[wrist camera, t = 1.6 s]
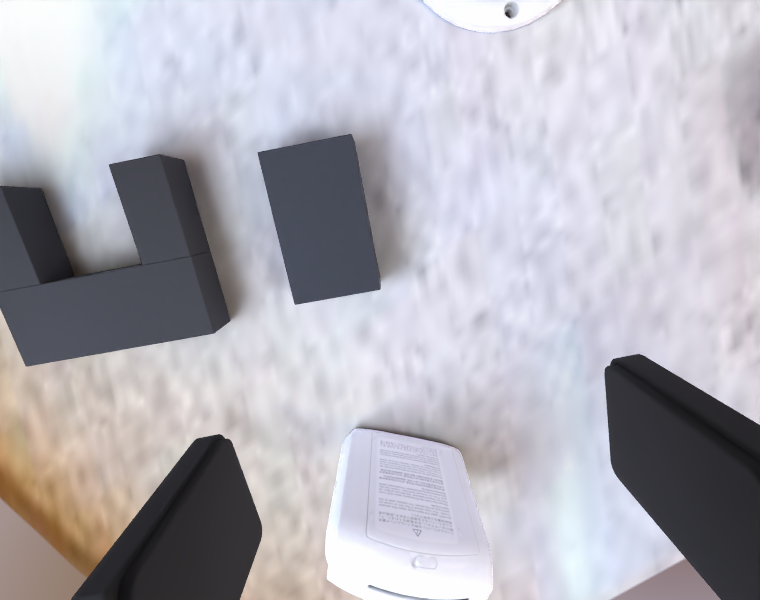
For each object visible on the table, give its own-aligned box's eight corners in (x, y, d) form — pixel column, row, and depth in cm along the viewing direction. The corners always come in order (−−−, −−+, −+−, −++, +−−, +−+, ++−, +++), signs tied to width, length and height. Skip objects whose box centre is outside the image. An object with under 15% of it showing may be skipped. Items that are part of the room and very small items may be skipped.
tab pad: (270, 158, 26) (257, 152, 24) (354, 141, 26) (351, 133, 23) (303, 295, 29) (294, 305, 26) (380, 281, 29) (380, 289, 26)
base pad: (-4, 196, 27) (-50, 195, 24) (184, 159, 26) (159, 153, 24) (59, 351, 30) (25, 366, 27) (230, 321, 29) (214, 333, 26)
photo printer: (336, 464, 32) (310, 615, 20) (346, 420, 31) (324, 553, 19) (453, 485, 33) (494, 646, 21) (465, 443, 32) (517, 586, 20)
